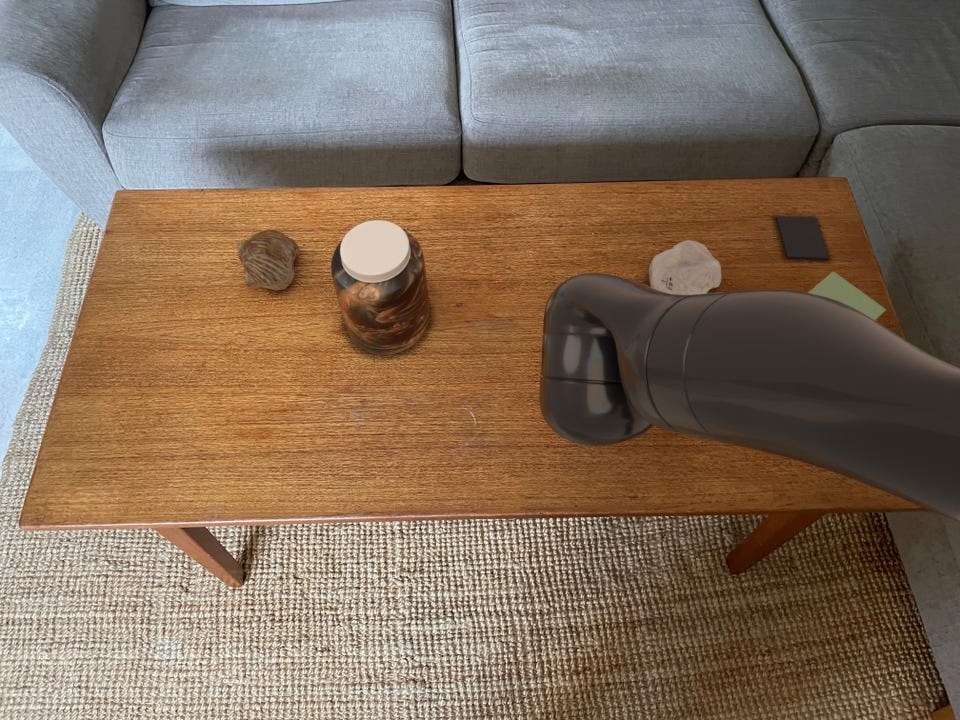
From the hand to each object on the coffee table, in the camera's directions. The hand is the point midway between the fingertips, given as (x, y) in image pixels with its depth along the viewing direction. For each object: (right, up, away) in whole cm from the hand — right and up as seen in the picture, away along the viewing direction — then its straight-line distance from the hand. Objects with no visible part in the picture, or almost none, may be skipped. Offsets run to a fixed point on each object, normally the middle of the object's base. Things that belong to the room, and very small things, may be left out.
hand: (733, 365), depth 68 cm
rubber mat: (+22, +19, +30) cm, 42 cm away
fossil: (+2, +11, +25) cm, 28 cm away
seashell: (-56, +13, +25) cm, 63 cm away
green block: (+19, +4, +21) cm, 29 cm away
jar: (-39, +6, +21) cm, 45 cm away
